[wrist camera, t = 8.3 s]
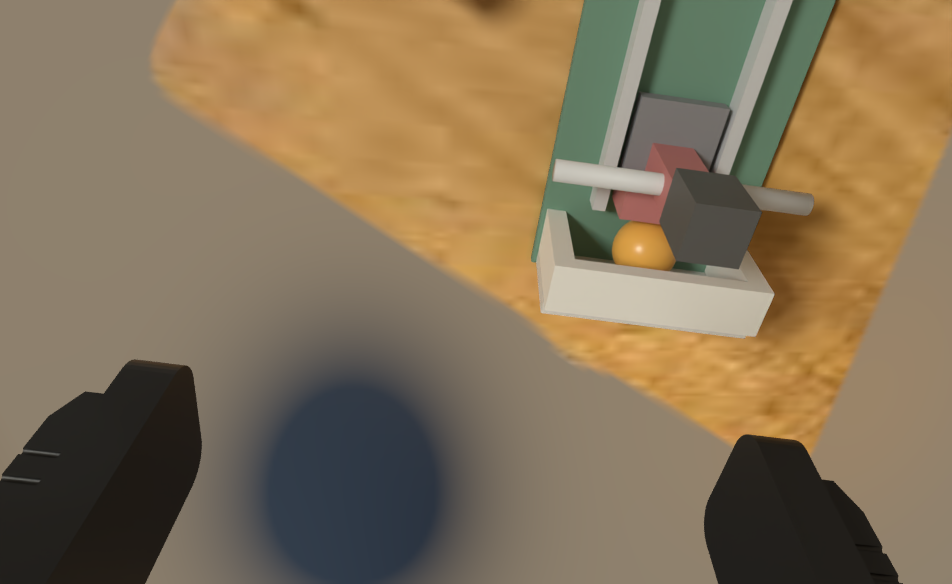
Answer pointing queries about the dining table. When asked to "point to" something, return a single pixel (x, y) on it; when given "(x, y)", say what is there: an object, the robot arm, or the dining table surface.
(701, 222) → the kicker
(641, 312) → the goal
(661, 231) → the ball
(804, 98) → the dining table surface
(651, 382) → the dining table surface
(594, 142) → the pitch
